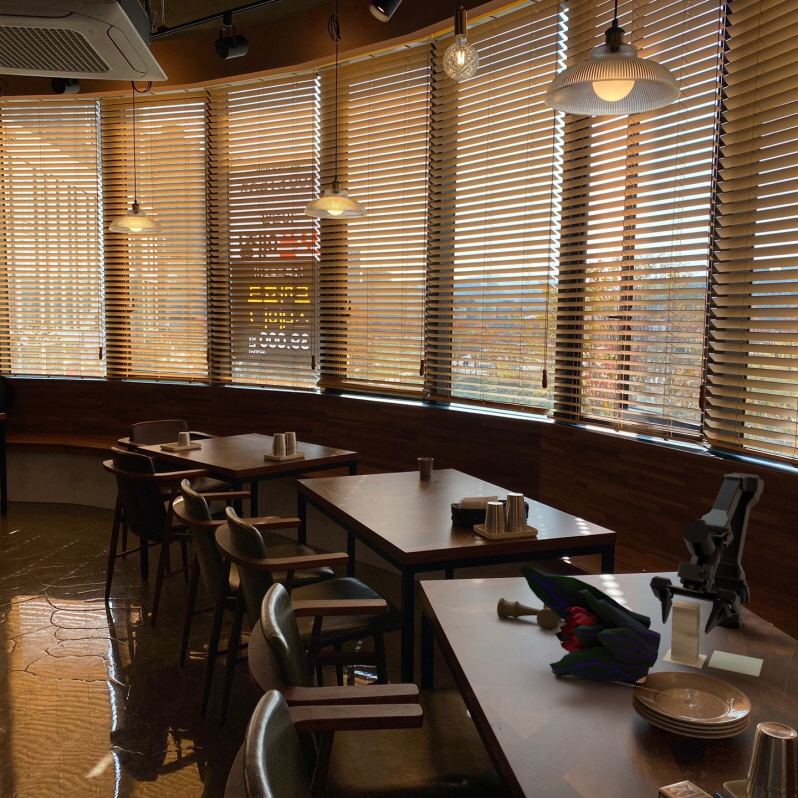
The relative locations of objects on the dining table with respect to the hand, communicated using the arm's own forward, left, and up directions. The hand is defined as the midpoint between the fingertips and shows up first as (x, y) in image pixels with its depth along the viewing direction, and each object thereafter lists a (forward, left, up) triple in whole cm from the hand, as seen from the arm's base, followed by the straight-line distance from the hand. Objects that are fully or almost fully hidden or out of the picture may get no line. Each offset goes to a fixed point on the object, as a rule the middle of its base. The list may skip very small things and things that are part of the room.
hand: (684, 627), depth 164 cm
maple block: (-1, 0, -7) cm, 7 cm away
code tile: (-1, 0, -7) cm, 7 cm away
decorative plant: (+19, -16, -8) cm, 26 cm away
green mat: (-4, +10, -7) cm, 13 cm away
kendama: (-6, -36, -8) cm, 37 cm away
